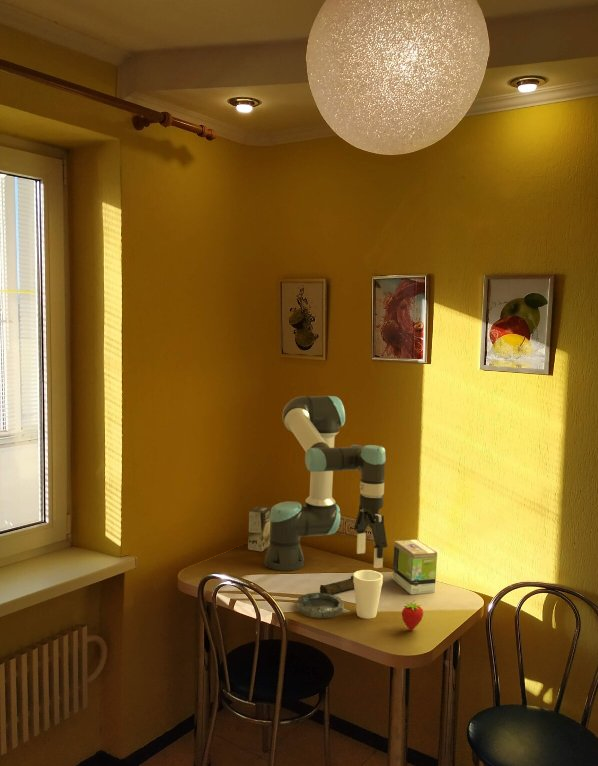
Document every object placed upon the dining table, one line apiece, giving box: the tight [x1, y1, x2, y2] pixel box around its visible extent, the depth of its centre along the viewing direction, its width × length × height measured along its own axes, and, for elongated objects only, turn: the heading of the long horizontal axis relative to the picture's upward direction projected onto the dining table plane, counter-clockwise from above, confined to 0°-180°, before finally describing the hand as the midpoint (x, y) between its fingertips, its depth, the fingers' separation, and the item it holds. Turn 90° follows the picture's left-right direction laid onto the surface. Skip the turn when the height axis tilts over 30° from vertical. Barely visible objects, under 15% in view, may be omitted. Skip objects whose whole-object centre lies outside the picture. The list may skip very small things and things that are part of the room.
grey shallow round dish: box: [296, 592, 345, 620], centre depth 229 cm, size 15×15×2 cm
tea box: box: [392, 539, 438, 595], centre depth 250 cm, size 15×10×15 cm, turn 18°
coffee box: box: [247, 505, 272, 552], centre depth 285 cm, size 9×6×16 cm
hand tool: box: [319, 574, 355, 595], centre depth 243 cm, size 19×4×5 cm, turn 122°
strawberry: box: [401, 600, 424, 632], centre depth 214 cm, size 6×8×10 cm
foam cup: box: [353, 569, 384, 620], centre depth 225 cm, size 10×9×13 cm
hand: (369, 560), depth 223 cm, fingers open, 13 cm apart
